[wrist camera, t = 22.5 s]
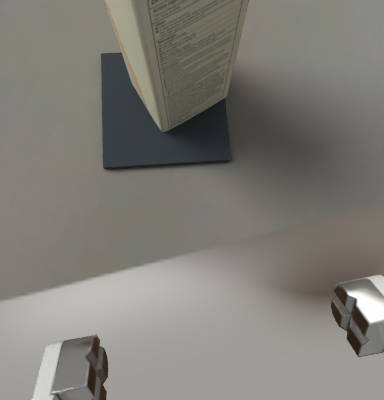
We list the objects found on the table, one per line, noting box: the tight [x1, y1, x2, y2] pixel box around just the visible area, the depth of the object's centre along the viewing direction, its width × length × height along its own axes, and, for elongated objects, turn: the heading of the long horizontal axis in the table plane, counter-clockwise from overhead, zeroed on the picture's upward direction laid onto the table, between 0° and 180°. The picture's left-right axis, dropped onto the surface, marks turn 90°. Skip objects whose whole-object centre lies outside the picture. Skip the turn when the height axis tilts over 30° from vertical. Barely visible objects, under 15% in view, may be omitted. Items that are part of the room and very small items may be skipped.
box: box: [104, 0, 249, 132], centre depth 15 cm, size 5×4×11 cm
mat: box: [101, 53, 231, 169], centre depth 20 cm, size 8×8×1 cm
